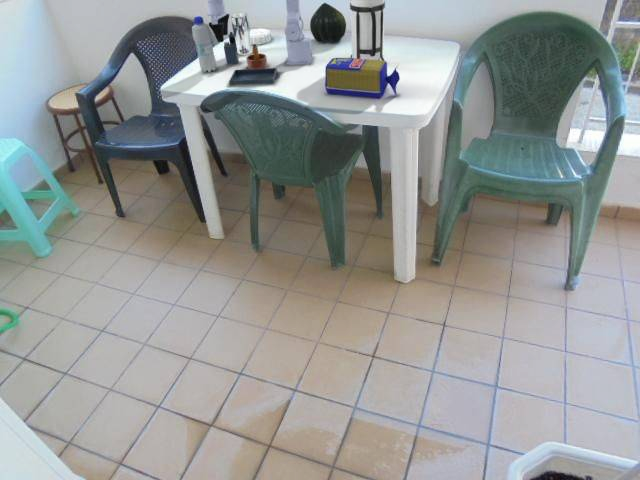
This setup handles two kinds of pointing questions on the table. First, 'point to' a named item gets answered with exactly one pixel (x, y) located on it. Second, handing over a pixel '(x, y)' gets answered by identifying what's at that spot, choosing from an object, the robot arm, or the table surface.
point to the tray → (253, 76)
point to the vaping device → (231, 50)
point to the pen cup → (257, 62)
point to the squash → (327, 24)
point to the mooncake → (259, 36)
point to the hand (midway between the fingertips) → (222, 38)
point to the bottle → (204, 45)
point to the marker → (255, 52)
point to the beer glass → (242, 32)
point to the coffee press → (367, 29)
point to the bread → (359, 77)
